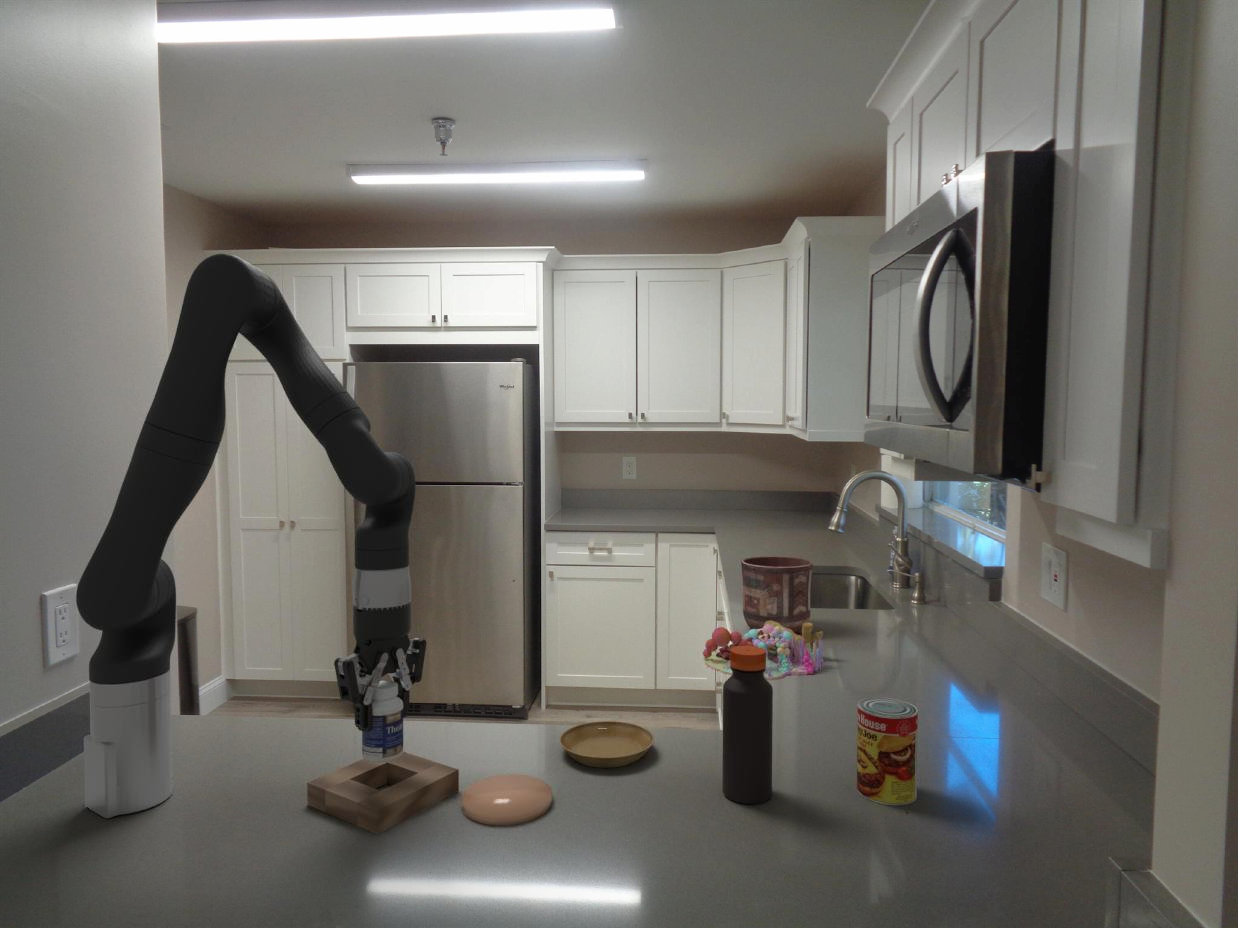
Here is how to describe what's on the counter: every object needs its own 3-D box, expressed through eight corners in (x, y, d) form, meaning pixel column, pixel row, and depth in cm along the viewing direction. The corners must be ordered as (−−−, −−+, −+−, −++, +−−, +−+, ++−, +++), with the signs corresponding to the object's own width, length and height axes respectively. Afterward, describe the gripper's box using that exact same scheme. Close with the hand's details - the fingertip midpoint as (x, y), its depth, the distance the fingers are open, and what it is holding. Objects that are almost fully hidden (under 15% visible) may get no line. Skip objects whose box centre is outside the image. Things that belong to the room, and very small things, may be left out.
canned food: (848, 780, 110) (848, 697, 110) (901, 778, 111) (902, 696, 110) (870, 806, 102) (871, 717, 102) (927, 804, 103) (928, 715, 103)
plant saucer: (542, 765, 116) (542, 748, 116) (582, 730, 130) (582, 715, 129) (634, 781, 110) (634, 763, 110) (666, 743, 124) (666, 727, 124)
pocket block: (377, 834, 95) (377, 810, 95) (307, 804, 103) (307, 782, 103) (458, 790, 107) (458, 769, 107) (390, 767, 115) (390, 747, 114)
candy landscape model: (743, 643, 185) (743, 605, 184) (839, 660, 171) (839, 618, 171) (690, 669, 165) (690, 626, 164) (793, 690, 151) (794, 643, 150)
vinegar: (775, 786, 108) (776, 645, 108) (768, 808, 102) (769, 659, 101) (727, 779, 110) (728, 641, 110) (717, 800, 104) (718, 654, 103)
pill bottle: (391, 765, 102) (391, 692, 101) (354, 761, 103) (354, 689, 102) (410, 749, 107) (410, 679, 107) (375, 746, 108) (374, 677, 108)
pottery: (797, 644, 183) (798, 569, 182) (730, 634, 192) (730, 562, 192) (821, 629, 197) (822, 559, 197) (757, 620, 207) (758, 553, 206)
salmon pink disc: (511, 834, 95) (511, 824, 95) (442, 808, 102) (442, 799, 102) (569, 796, 105) (569, 787, 105) (503, 775, 112) (503, 767, 112)
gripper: (404, 588, 112) (404, 703, 113) (318, 605, 100) (319, 734, 101) (441, 594, 108) (441, 713, 109) (356, 613, 96) (357, 747, 96)
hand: (382, 722), depth 105 cm, fingers closed on pill bottle, 5 cm apart
